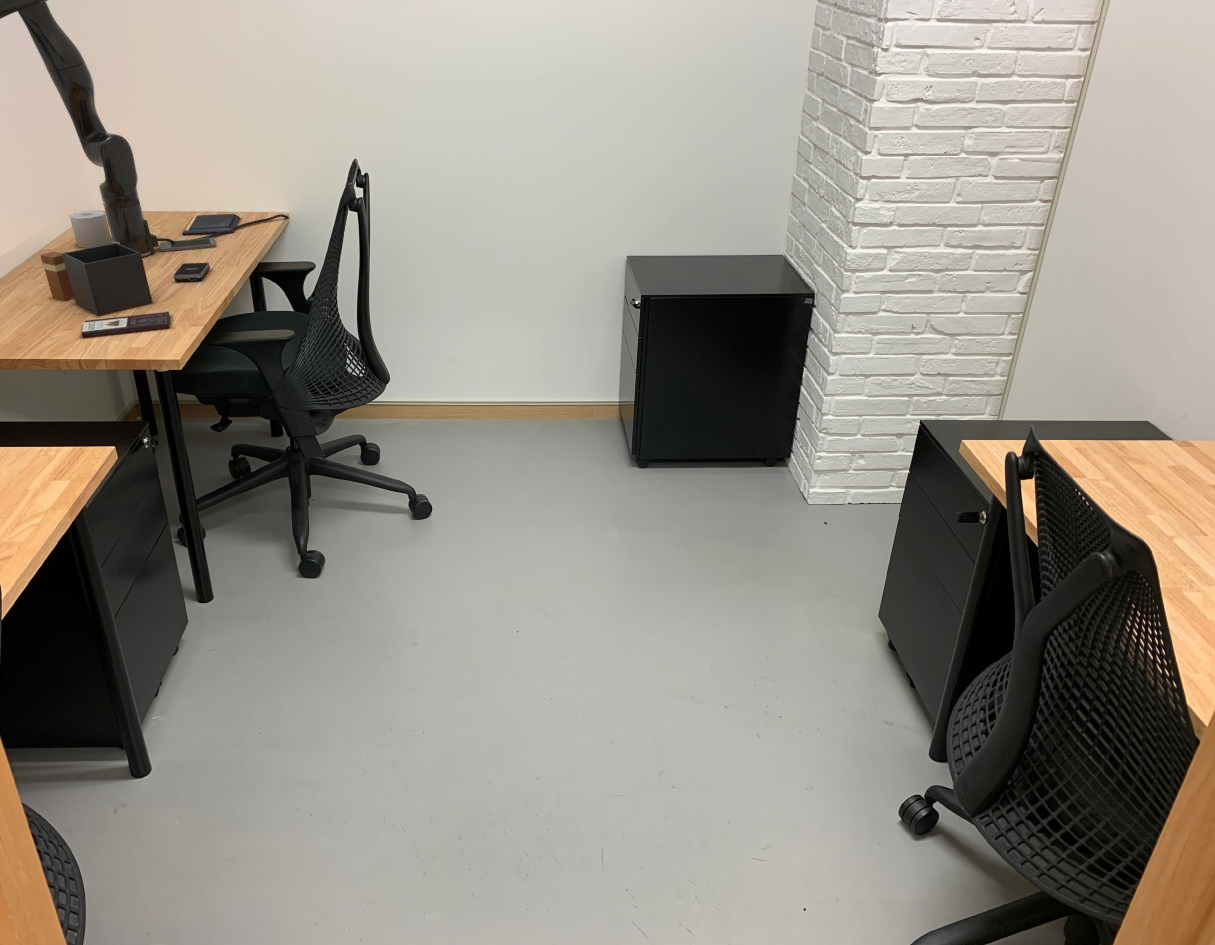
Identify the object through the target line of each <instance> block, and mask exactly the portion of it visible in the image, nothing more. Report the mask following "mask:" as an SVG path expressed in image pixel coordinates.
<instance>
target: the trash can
mask: <svg viewBox="0 0 1215 945" xmlns="http://www.w3.org/2000/svg"><path fill="white" fill-rule="evenodd" d="M61 253H62V256H63V260H64V264H65V267H66V271H67V274H68V278H69V281H70V285H71V288H72V292H73V295H74V298H73V299H74V303H75V304H76V305H78V306H79V307H81V308H83V309H85V310H87V311H88V312H90V313H92V314H94V315H95V316H98V317H101V316H104V315H107V314H108V315H109V314H112V313H117V312H121V311H125V310H130V309H134V308H138V307H142V306H146V305H151V304H154V303H153V298H152V294H151V290H150V286H149V282H148V277H147V273H146V270H145V264H144V261H143V257H142V256H141V253H140V252H137V251H135V250H133V249H130V248H128V247H126V246H123V245H121V244H119V243H113V244H112V243H111V244H108V245H102V246H97V247H92V248H83V249H76V250H71V251H67V252H61Z"/></svg>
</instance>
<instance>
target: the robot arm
mask: <svg viewBox="0 0 1215 945" xmlns="http://www.w3.org/2000/svg"><path fill="white" fill-rule="evenodd" d="M48 2H49V0H0V20H1V19H4V18H6V17H7V16H9V15H11V14H15V13H18V15H19V16H20V18H21V20H22V22H23V24H24V25H25V27H26V29H27V31H28V33H29V35H30V37H31V39H32V41H33V44H34V46H35V48H36V50H37V52H38V54H39V56H40V58H41V60H42V62H43V64H44V67H45V69H46V71H47V73H48V75H49V77H50V79H51V81H52V83H53V86H54V87H55V88H56V90H57V93H58V94H59V96H60V99H61V101H62V103H63V105H64V107H65V109H66V112H67V113H68V115H69V117H70V120H71V122H72V124H73V126H74V129H75V132H76V136H77V138H78V140H79V142H80V145H81V148H82V150H83V152H84V155H85V157H86V158H87V159H88V161H89V162H90V163H91V164H92V165H94V166H97V167H99V168H103V173H104V181H102V182H101V183H100V184H99V185H98V188H99V192H100V196H101V200H102V204H103V208H104V211H105V212H104V213H105V215H106V219H107V223H108V227H109V231H110V235H111V239H112V243H111V244H113V243H119V244H121V245H123V246H126V247H128V248H130V249H133V250H135V251H137V252H140V253H141V256H142V258H145V257H148V256H150V255H153V254H155V249H154V248H157V247H160V244H159V242H167V241H168V242H171V243H175V242H177V241H178V240H173V239H171V238H167V237H158V236H157V235H156V234H153V233H151V231H150V227H149V222H148V220H147V219H145V218H144V214H143V209H142V205H141V201H140V197H139V192H138V180H139V179H138V173H137V167H136V162H135V161H136V160H135V155H134V151H133V149H132V147H131V144H130V143H129V141H128V140H127V139H126V138H125V137H124V136H122V135H119V134H116V133H110V132H108V131H107V130H106V128H105V126H104V125H103V123H102V122H103V121H102V120H101V118H100V116H99V114H98V111H97V108H96V98H95V83H94V80H93V77H92V75H91V74H92V73H91V72H90V69H89V67H88V65H87V63H86V61H85V59H84V57H83V55H82V53H81V52H80V50H79V49H78V47H77V46H76V45H75V43H74V42H73V41H72V40H71V38H70V37H69V36H68V35H67V33H66V32H65V31H64V30H63V28H61V26H60V25H59V24H58V22H57V20H56V19H55V18H54V16H53V13H52V12H51V10H50V8H49V6H48V5H49V4H48ZM277 218H285V219H287V220H289V219H290V216H288V215H287V214H284V213H281V214H280V213H279V214H276V215H273V216H271V217H266V218H262V219H255V220H253V221H248V222H245V223H242V224H237V225H236V227H233V228H232V229H234V231H235V230H238V229H240V228H241V229H242V228H243V227H246V226H247V227H248V226H251V225H255V224H258V223H259V224H260V223H264V222H269V221H272V220H274V219H277ZM224 233H226V230H224V231H222V232H219V233H215V234H208V235H204V236H201V237H197V238H192V240H195V239H201V238H215V237H218V236H221V235H225V234H224Z"/></svg>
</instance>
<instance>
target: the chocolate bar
mask: <svg viewBox="0 0 1215 945" xmlns="http://www.w3.org/2000/svg"><path fill="white" fill-rule="evenodd" d="M162 329H163V330H164V329H170V311H162V312H153V313H144V314H143V313H142V314H134V315H126V316H125V315H124V316H116V317H115V316H114V317H105V318H97V319H89V320H88V319H87V320H84V322H83V327H82V330H81V336H82V338H83V339H84V338H92V337H99V336H100V337H101V336H108V335H109V336H110V335H117V334H118V335H119V334H127V333H137V332H144V331H145V332H146V331H152V330H153V331H154V330H162Z"/></svg>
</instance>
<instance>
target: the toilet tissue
mask: <svg viewBox="0 0 1215 945" xmlns="http://www.w3.org/2000/svg"><path fill="white" fill-rule="evenodd" d="M69 219H70V223H71V227H72V231H73V234H74V238H75V242H76V245H77V247H78V248H83V249H87V248H92V247H97V246H102V245H108V244H112V241H113V240H112V236H111V232H110V228H109V224H108V220H107V216H106V212H104V211H103V210H84V211H79V212H74V213H71V214H69Z"/></svg>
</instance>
